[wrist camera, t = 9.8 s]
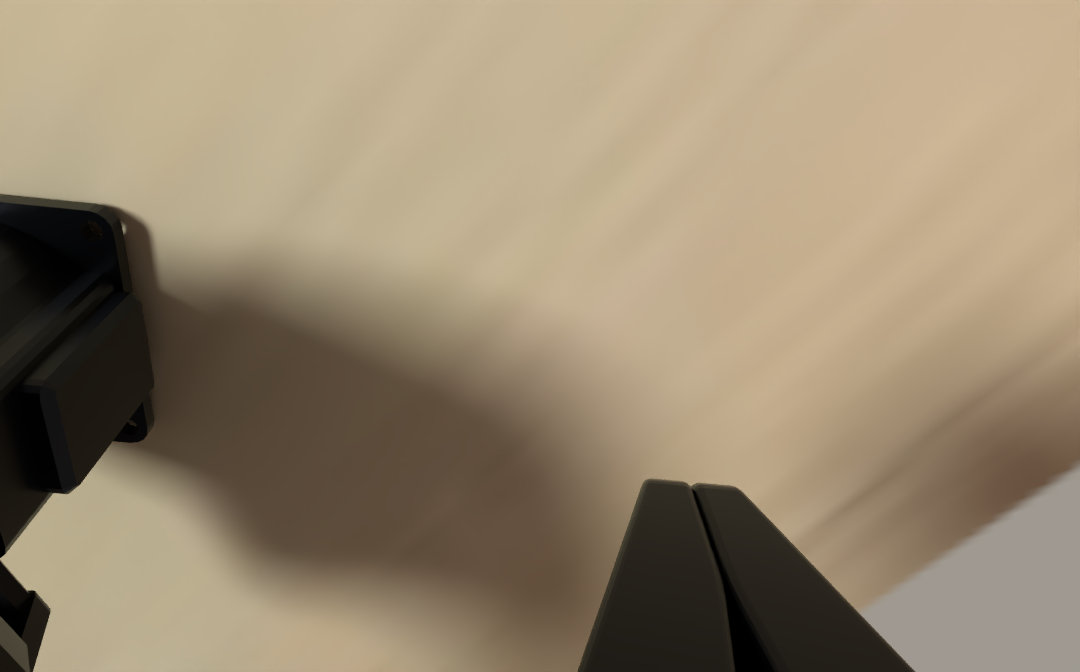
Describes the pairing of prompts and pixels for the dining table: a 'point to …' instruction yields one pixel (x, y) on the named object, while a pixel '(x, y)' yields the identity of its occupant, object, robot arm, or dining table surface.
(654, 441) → the dining table surface
